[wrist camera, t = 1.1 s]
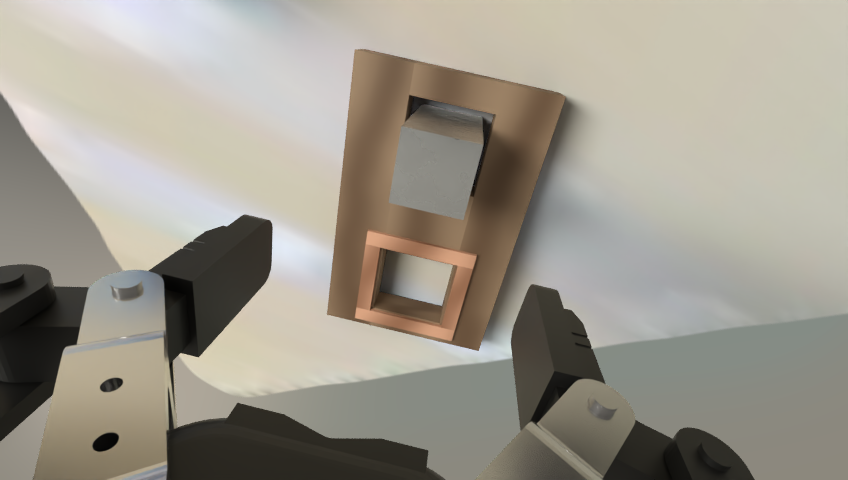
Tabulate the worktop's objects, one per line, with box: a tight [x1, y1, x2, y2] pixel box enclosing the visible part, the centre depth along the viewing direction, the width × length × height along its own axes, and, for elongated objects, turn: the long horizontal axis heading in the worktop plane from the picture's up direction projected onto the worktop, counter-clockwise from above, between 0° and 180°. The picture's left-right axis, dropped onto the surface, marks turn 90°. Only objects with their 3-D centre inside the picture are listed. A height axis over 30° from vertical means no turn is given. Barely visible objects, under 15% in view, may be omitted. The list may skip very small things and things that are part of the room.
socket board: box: [327, 49, 566, 351], centre depth 32 cm, size 14×22×3 cm, turn 169°
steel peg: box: [389, 104, 483, 220], centre depth 26 cm, size 4×4×9 cm
